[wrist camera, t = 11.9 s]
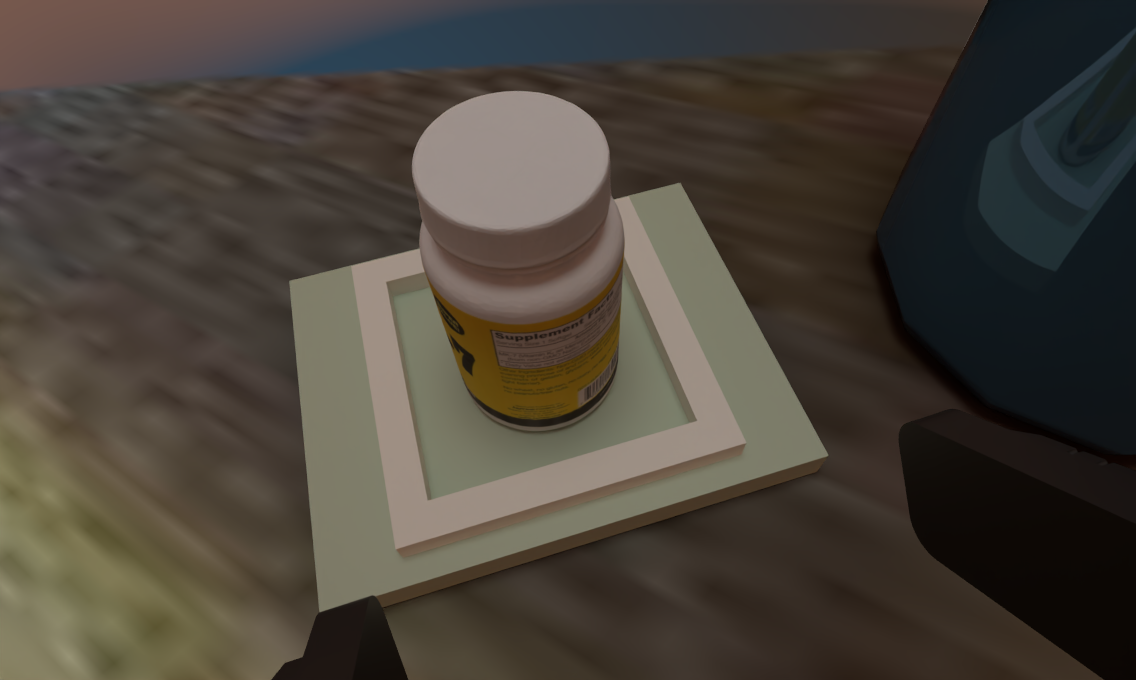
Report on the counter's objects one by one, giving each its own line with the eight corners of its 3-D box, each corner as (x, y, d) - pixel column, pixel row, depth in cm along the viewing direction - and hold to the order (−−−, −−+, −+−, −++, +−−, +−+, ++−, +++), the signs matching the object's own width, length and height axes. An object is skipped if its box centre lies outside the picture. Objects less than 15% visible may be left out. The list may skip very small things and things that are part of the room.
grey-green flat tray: (335, 622, 18) (307, 607, 16) (302, 301, 24) (279, 266, 22) (817, 471, 20) (837, 444, 18) (677, 206, 25) (682, 166, 24)
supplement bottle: (454, 314, 22) (386, 92, 14) (599, 289, 22) (601, 61, 15) (471, 451, 19) (398, 263, 12) (634, 420, 19) (656, 220, 12)
